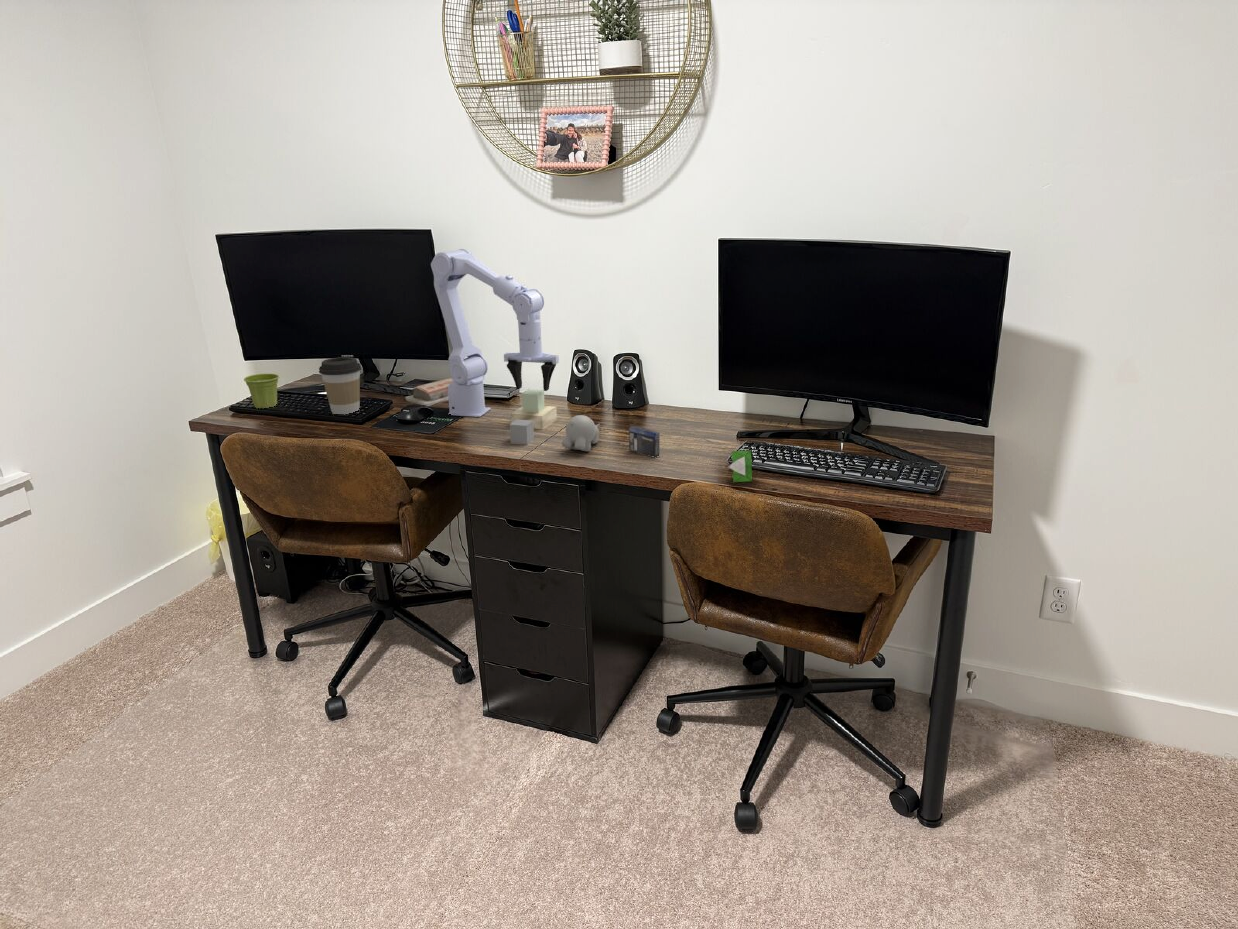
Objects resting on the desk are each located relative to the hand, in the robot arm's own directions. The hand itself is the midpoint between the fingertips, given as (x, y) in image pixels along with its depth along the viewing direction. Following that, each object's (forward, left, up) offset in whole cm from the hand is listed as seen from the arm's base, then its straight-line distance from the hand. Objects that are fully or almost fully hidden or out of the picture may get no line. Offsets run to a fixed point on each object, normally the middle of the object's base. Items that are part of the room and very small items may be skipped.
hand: (532, 389), depth 226 cm
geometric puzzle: (+60, -29, -10) cm, 67 cm away
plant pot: (-82, -2, -10) cm, 83 cm away
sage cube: (0, 0, -6) cm, 6 cm away
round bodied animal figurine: (+20, -17, -10) cm, 27 cm away
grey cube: (+3, -15, -9) cm, 18 cm away
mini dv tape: (+35, -17, -10) cm, 40 cm away
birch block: (0, 0, -10) cm, 10 cm away
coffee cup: (-55, -3, -10) cm, 56 cm away
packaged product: (-37, +18, -10) cm, 42 cm away
